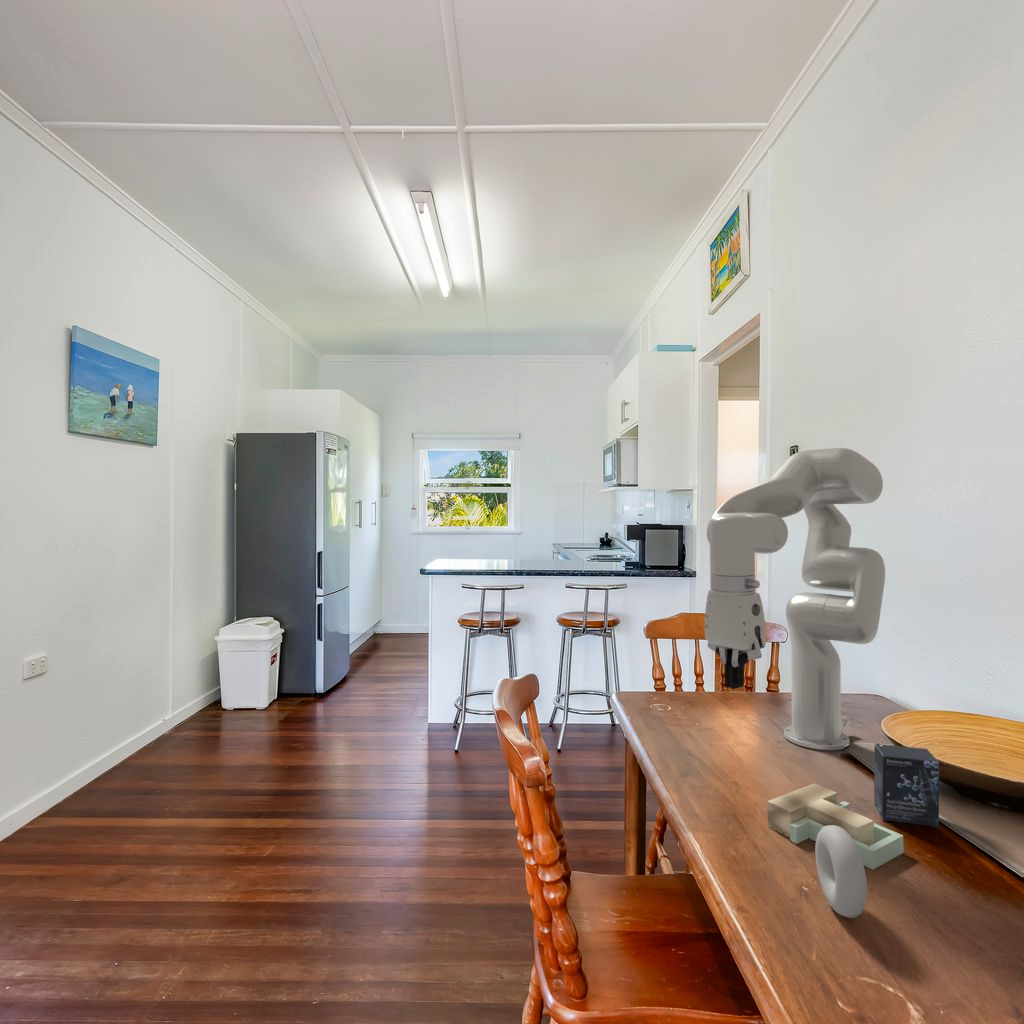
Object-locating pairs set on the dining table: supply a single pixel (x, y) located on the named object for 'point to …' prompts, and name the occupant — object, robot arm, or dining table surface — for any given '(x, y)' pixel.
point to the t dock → (872, 856)
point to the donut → (841, 871)
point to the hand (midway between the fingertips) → (734, 686)
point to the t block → (818, 813)
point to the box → (906, 785)
